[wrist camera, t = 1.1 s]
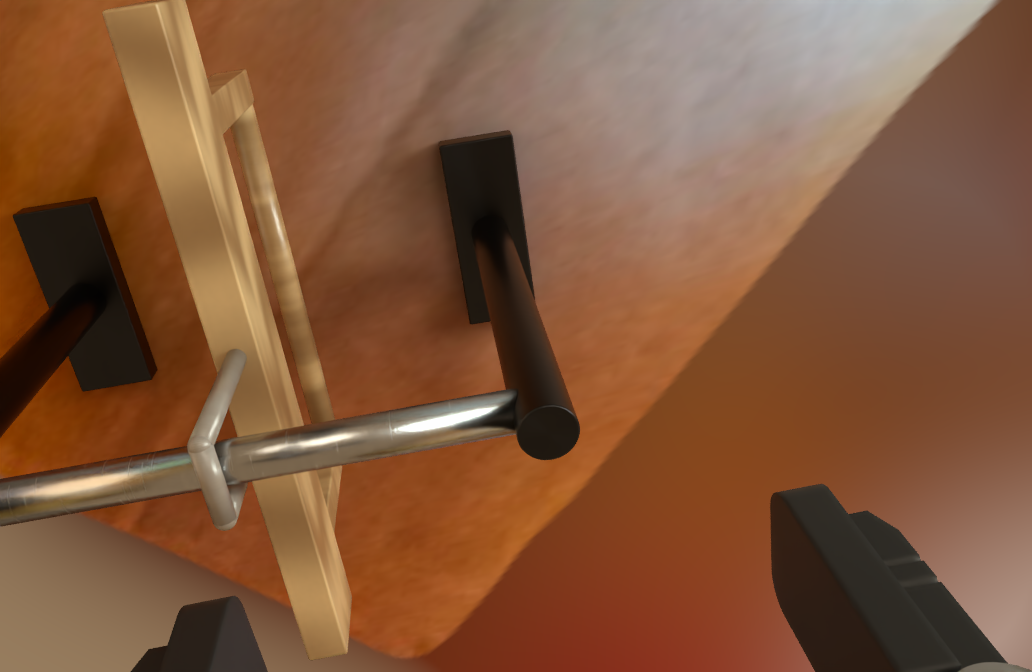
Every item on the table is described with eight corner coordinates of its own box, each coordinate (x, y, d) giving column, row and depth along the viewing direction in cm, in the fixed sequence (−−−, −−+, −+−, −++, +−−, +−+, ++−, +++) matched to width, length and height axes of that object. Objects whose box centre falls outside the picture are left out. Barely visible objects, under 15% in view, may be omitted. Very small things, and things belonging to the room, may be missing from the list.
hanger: (190, -9, 31) (12, 29, 17) (230, -15, 31) (85, 18, 17) (330, 499, 40) (290, 794, 26) (361, 493, 40) (337, 785, 26)
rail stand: (21, 208, 35) (-298, 427, 19) (509, 129, 36) (592, 275, 20) (89, 381, 38) (-134, 690, 22) (534, 305, 39) (620, 549, 23)
